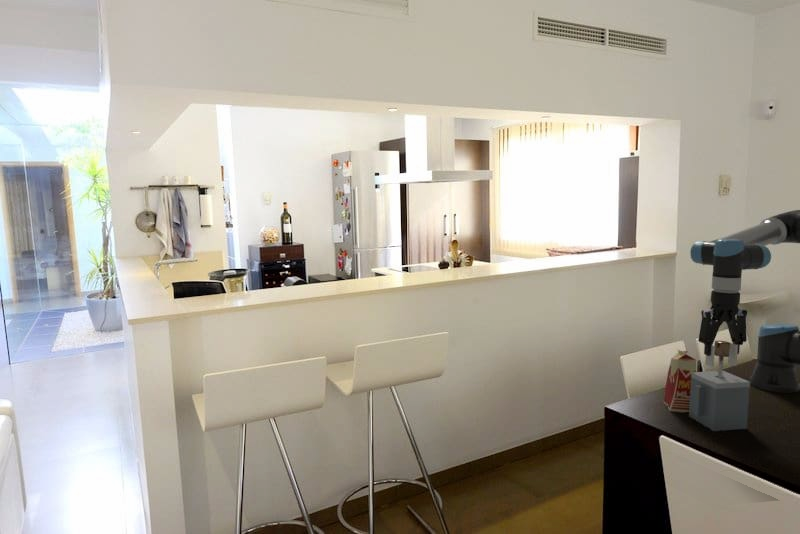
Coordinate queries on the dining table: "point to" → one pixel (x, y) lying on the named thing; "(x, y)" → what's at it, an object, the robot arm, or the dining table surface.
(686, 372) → the milk carton
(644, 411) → the dining table surface
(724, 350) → the plunger
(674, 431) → the dining table surface
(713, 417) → the grey box with hole
